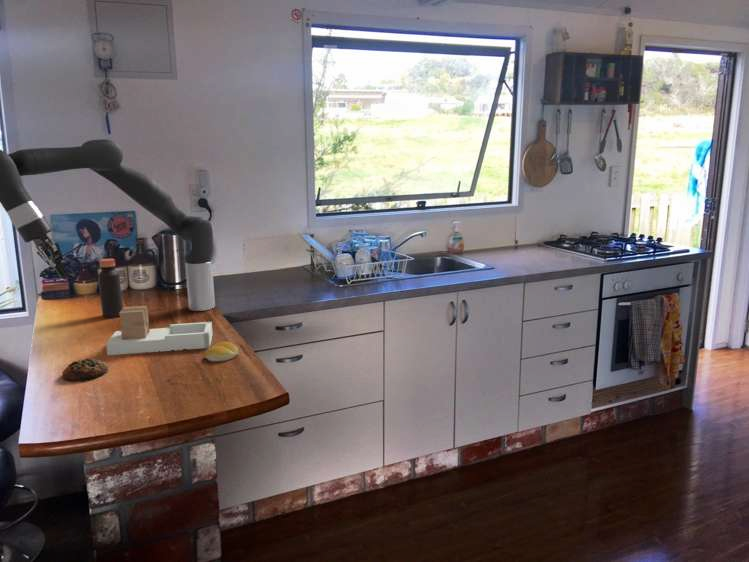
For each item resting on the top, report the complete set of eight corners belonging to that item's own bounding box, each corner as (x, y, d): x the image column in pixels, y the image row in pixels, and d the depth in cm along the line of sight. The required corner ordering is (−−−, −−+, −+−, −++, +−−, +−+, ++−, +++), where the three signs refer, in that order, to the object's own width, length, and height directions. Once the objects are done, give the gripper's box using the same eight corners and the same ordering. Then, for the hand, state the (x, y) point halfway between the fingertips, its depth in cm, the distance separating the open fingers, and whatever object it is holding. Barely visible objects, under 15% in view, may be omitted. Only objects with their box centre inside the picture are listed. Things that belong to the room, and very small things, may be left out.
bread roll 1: (73, 385, 153) (70, 365, 153) (55, 381, 161) (52, 362, 160) (116, 374, 162) (114, 355, 161) (97, 370, 169) (95, 352, 168)
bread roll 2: (199, 361, 170) (198, 347, 169) (219, 350, 178) (218, 337, 177) (224, 364, 167) (223, 350, 166) (243, 354, 175) (242, 340, 174)
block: (126, 333, 184) (123, 307, 182) (149, 331, 185) (146, 305, 183) (122, 339, 178) (119, 312, 176) (145, 338, 179) (143, 311, 177)
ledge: (116, 342, 187) (115, 331, 186) (171, 338, 190) (170, 327, 189) (107, 355, 175) (106, 343, 175) (166, 351, 178) (165, 339, 177)
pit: (171, 338, 190) (170, 324, 189) (212, 335, 192) (211, 321, 191) (166, 351, 178) (164, 336, 177) (209, 347, 180) (208, 333, 179)
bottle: (116, 318, 213) (109, 261, 208) (98, 318, 214) (91, 261, 210) (127, 313, 219) (121, 258, 215) (110, 312, 221) (104, 257, 216)
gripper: (49, 211, 164) (85, 268, 169) (36, 219, 174) (70, 272, 179) (22, 223, 159) (60, 281, 164) (10, 231, 169) (46, 285, 174)
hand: (65, 276), depth 172 cm, fingers closed
